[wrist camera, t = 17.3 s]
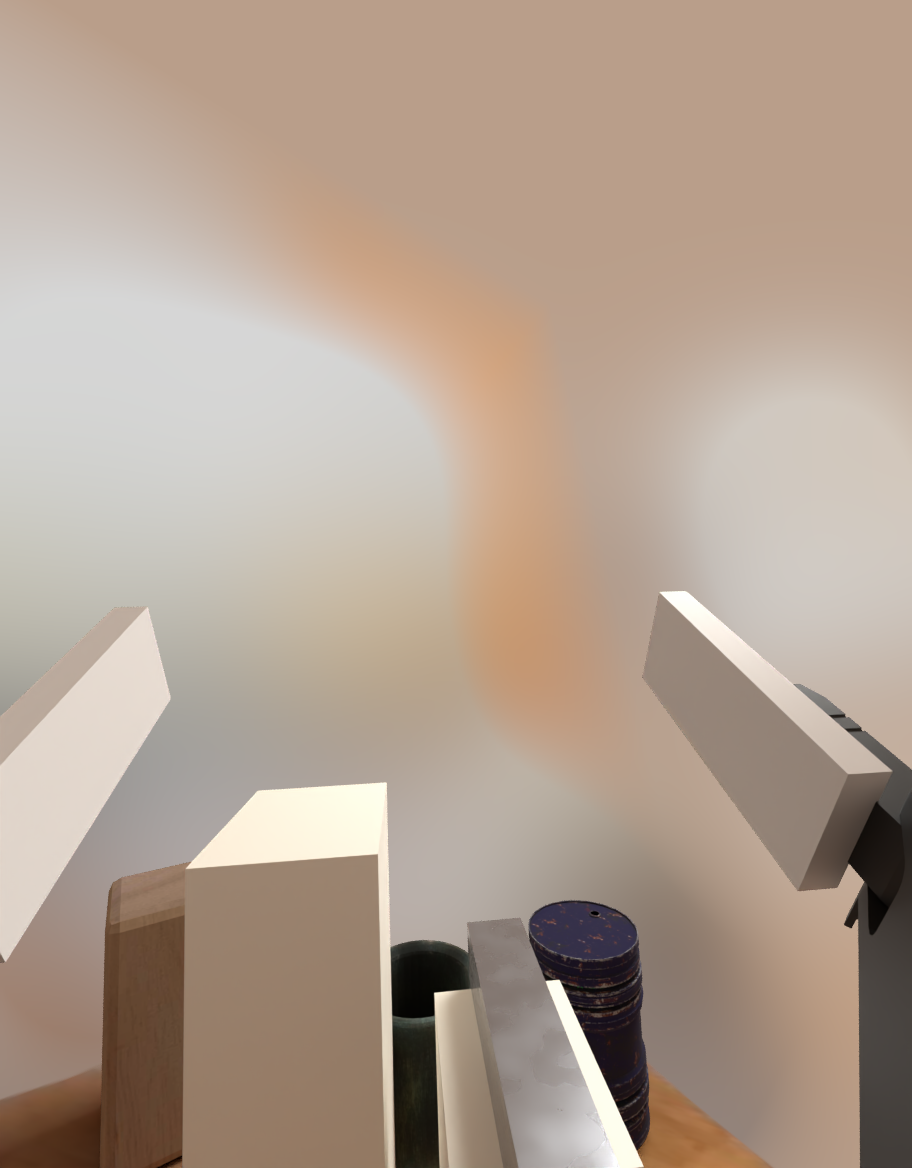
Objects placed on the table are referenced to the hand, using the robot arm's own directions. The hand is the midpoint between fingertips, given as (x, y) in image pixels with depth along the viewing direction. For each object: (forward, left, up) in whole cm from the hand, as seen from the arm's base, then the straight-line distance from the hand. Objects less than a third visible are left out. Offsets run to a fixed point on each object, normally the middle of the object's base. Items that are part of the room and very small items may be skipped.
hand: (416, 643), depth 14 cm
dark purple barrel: (+15, +35, -42) cm, 57 cm away
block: (-22, +39, -42) cm, 61 cm away
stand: (-7, +23, -42) cm, 48 cm away
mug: (0, +37, -42) cm, 56 cm away
